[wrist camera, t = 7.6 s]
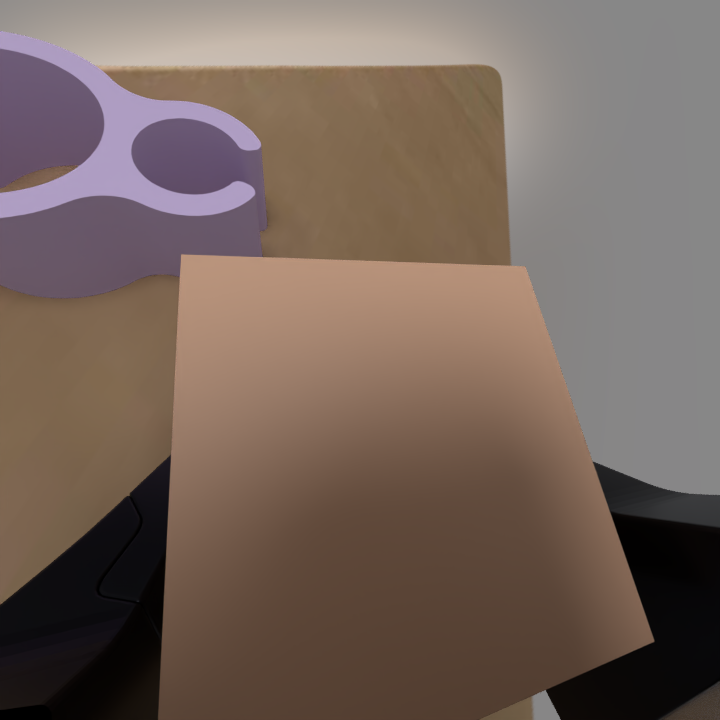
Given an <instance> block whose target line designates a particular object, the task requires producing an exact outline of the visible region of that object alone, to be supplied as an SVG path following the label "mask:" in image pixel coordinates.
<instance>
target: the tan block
mask: <svg viewBox="0 0 720 720" xmlns="http://www.w3.org/2000/svg"><path fill="white" fill-rule="evenodd" d="M652 642H655V641H654V638H653V635H652V633H651V630H650V627H649V624H648V621H647V618H646V615H645V612H644V609H643V606H642V604H641V601H640V598H639V595H638V592H637V589H636V586H635V583H634V580H633V577H632V574H631V572H630V569H629V566H628V563H627V560H626V557H625V554H624V551H623V548H622V545H621V543H620V540H619V537H618V534H617V531H616V528H615V525H614V522H613V519H612V516H611V514H610V511H609V508H608V505H607V502H606V499H605V496H604V493H603V490H602V487H601V485H600V482H599V479H598V476H597V473H596V470H595V467H594V464H593V461H592V459H591V456H590V453H589V450H588V447H587V445H586V441H585V438H584V435H583V432H582V430H581V427H580V424H579V421H578V418H577V415H576V412H575V409H574V406H573V403H572V401H571V398H570V395H569V392H568V389H567V386H566V383H565V380H564V377H563V374H562V371H561V368H560V366H559V363H558V360H557V357H556V354H555V351H554V348H553V345H552V342H551V340H550V337H549V334H548V331H547V328H546V325H545V322H544V319H543V316H542V313H541V311H540V308H539V305H538V302H537V299H536V296H535V294H534V290H533V288H532V284H531V281H530V279H529V276H528V273H527V270H526V267H524V266H496V265H468V264H439V263H411V262H383V261H354V260H326V259H298V258H269V257H241V256H213V255H184V254H181V268H180V288H179V308H178V328H177V348H176V368H175V388H174V408H173V428H172V448H171V468H170V488H169V508H168V528H167V549H166V569H165V589H164V609H163V629H162V649H161V669H160V689H159V709H158V720H479V719H481V718H483V717H486V716H488V715H490V714H492V713H495V712H497V711H499V710H501V709H504V708H506V707H508V706H510V705H513V704H515V703H517V702H519V701H522V700H524V699H526V698H528V697H531V696H533V695H535V694H537V693H539V692H542V691H544V690H546V689H549V688H551V687H553V686H555V685H558V684H560V683H562V682H564V681H567V680H569V679H571V678H573V677H576V676H578V675H580V674H582V673H585V672H587V671H589V670H591V669H594V668H596V667H598V666H600V665H603V664H605V663H607V662H609V661H612V660H614V659H616V658H618V657H621V656H623V655H625V654H627V653H630V652H632V651H634V650H637V649H639V648H641V647H643V646H646V645H648V644H650V643H652Z"/></svg>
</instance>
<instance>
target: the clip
mask: <svg viewBox="0 0 720 720" xmlns="http://www.w3.org/2000/svg"><path fill="white" fill-rule="evenodd" d="M65 165H80V166H79V167H77V168H76V169H74V170H73V171H71V172H69V173H68V174H66V175H64V176H62V177H60V178H58V179H55V180H53V181H50V182H48V183H45V184H42V185H39V186H35V187H32V188H27V189H23V190H18V191H12V192H5V193H0V285H1V286H4V287H6V288H9V289H11V290H14V291H17V292H20V293H24V294H28V295H33V296H39V297H47V298H79V297H87V296H93V295H98V294H102V293H106V292H109V291H113V290H116V289H118V288H121V287H123V286H126V285H128V284H130V283H132V282H134V281H136V280H138V279H140V278H143V277H146V276H150V275H158V274H167V275H174V276H178V277H180V268H181V254H184V255H213V256H241V257H263V256H262V248H261V239H260V231H264V230H265V229H266V228H267V215H266V202H265V190H264V177H263V164H262V151H261V143H260V141H259V139H258V138H257V137H256V136H255V134H254V133H253V132H252V131H251V130H250V129H249V128H248V127H247V126H245V125H244V124H243V123H242V122H240V121H239V120H237V119H236V118H234V117H232V116H231V115H229V114H227V113H225V112H223V111H220V110H218V109H215V108H212V107H209V106H206V105H202V104H198V103H192V102H185V101H161V100H153V99H148V98H145V97H141V96H138V95H136V94H133V93H131V92H129V91H127V90H125V89H123V88H122V87H120V86H119V85H118V84H116V83H115V82H114V81H113V80H112V79H111V78H110V77H109V76H108V75H106V74H105V73H104V72H103V71H102V70H100V69H99V68H98V67H96V66H95V65H93V64H92V63H90V62H88V61H87V60H85V59H84V58H82V57H80V56H78V55H76V54H74V53H72V52H70V51H68V50H66V49H63V48H61V47H59V46H56V45H53V44H51V43H47V42H45V41H41V40H38V39H35V38H31V37H27V36H23V35H19V34H14V33H8V32H2V31H0V188H2V187H5V186H7V185H8V184H10V183H11V182H13V181H14V180H16V179H18V178H20V177H22V176H24V175H26V174H29V173H31V172H34V171H37V170H41V169H45V168H50V167H56V166H65Z"/></svg>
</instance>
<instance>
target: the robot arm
mask: <svg viewBox="0 0 720 720" xmlns="http://www.w3.org/2000/svg"><path fill="white" fill-rule="evenodd" d="M593 464H594V467H595V470H596V473H597V476H598V479H599V482H600V485H601V487H602V490H603V493H604V496H605V499H606V502H607V505H608V508H609V511H610V514H611V516H612V519H613V522H614V525H615V528H616V531H617V534H618V537H619V540H620V543H621V545H622V548H623V551H624V554H625V557H626V560H627V563H628V566H629V569H630V572H631V574H632V577H633V580H634V583H635V586H636V589H637V592H638V595H639V598H640V601H641V604H642V606H643V609H644V612H645V615H646V618H647V621H648V624H649V627H650V630H651V633H652V635H653V638H654V641H655V642H652V643H650V644H648V645H646V646H643V647H641V648H639V649H637V650H634V651H632V652H630V653H627V654H625V655H623V656H621V657H618V658H616V659H614V660H612V661H609V662H607V663H605V664H603V665H600V666H598V667H596V668H594V669H591V670H589V671H587V672H585V673H582V674H580V675H578V676H576V677H573V678H571V679H569V680H567V681H564V682H562V683H560V684H558V685H555V686H553V687H551V688H549V689H546V692H547V693H548V696H549V698H550V699H551V702H552V703H553V705H554V707H555V709H556V711H557V713H558V715H559V717H560V719H561V720H720V495H702V494H688V493H681V492H675V491H670V490H666V489H662V488H659V487H656V486H653V485H650V484H647V483H645V482H642V481H640V480H638V479H635V478H633V477H630V476H627V475H625V474H623V473H620V472H618V471H615V470H612V469H610V468H608V467H605V466H603V465H600V464H598V463H595V462H593ZM170 468H171V455H170V456H169V457H168V458H167V459H166V460H165V461H164V462H163V463H161V464H160V465H159V466H158V467H157V468H156V469H155V470H154V471H153V472H152V473H151V474H150V475H149V476H148V477H147V478H146V479H145V480H143V481H142V482H141V483H140V484H139V485H138V486H137V487H136V488H135V489H134V490H133V491H132V492H131V493H130V496H127V497H125V498H124V499H123V500H122V501H121V502H120V503H119V504H118V505H117V506H116V507H115V508H114V509H112V510H111V511H110V512H109V513H108V514H107V515H106V516H105V517H104V518H103V519H101V520H100V521H99V522H98V523H97V524H96V525H95V526H94V527H93V528H92V529H90V530H89V531H88V532H87V533H86V534H85V535H84V536H83V537H81V538H80V539H79V540H78V541H77V542H76V543H74V544H73V545H72V546H71V547H70V548H68V549H67V550H66V551H65V552H64V553H62V554H61V555H60V556H59V557H58V558H57V559H55V560H54V561H53V562H52V563H51V564H49V565H48V566H47V567H46V568H45V569H43V570H42V571H41V572H40V573H39V574H37V575H36V576H35V577H34V578H32V579H31V580H30V581H29V582H28V583H26V584H25V585H24V586H23V587H21V588H20V589H19V590H18V591H17V592H15V593H14V594H13V595H12V596H11V597H9V598H8V599H7V600H6V601H4V602H3V603H2V604H1V605H0V720H158V709H159V689H160V669H161V649H162V629H163V609H164V589H165V569H166V549H167V528H168V508H169V488H170Z"/></svg>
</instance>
